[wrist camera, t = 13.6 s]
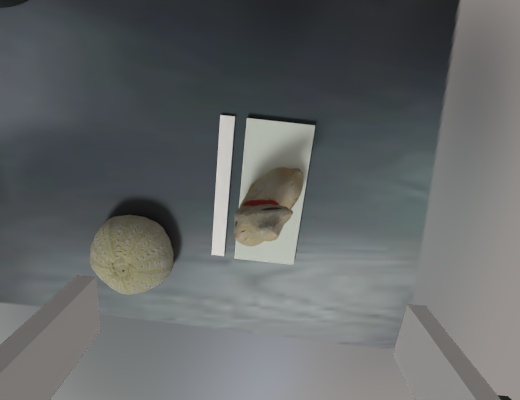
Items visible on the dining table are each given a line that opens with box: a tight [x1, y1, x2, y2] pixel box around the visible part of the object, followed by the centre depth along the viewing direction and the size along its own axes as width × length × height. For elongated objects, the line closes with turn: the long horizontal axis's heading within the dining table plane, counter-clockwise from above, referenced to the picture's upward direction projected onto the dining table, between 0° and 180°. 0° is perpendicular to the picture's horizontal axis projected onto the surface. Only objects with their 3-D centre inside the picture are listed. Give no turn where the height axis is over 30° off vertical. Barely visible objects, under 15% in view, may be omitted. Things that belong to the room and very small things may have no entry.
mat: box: [234, 118, 315, 265], centre depth 32 cm, size 16×7×1 cm, turn 174°
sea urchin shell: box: [90, 214, 174, 295], centre depth 33 cm, size 9×8×8 cm
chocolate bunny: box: [234, 167, 304, 246], centre depth 27 cm, size 6×8×10 cm
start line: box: [211, 115, 235, 256], centre depth 32 cm, size 16×2×1 cm, turn 174°
